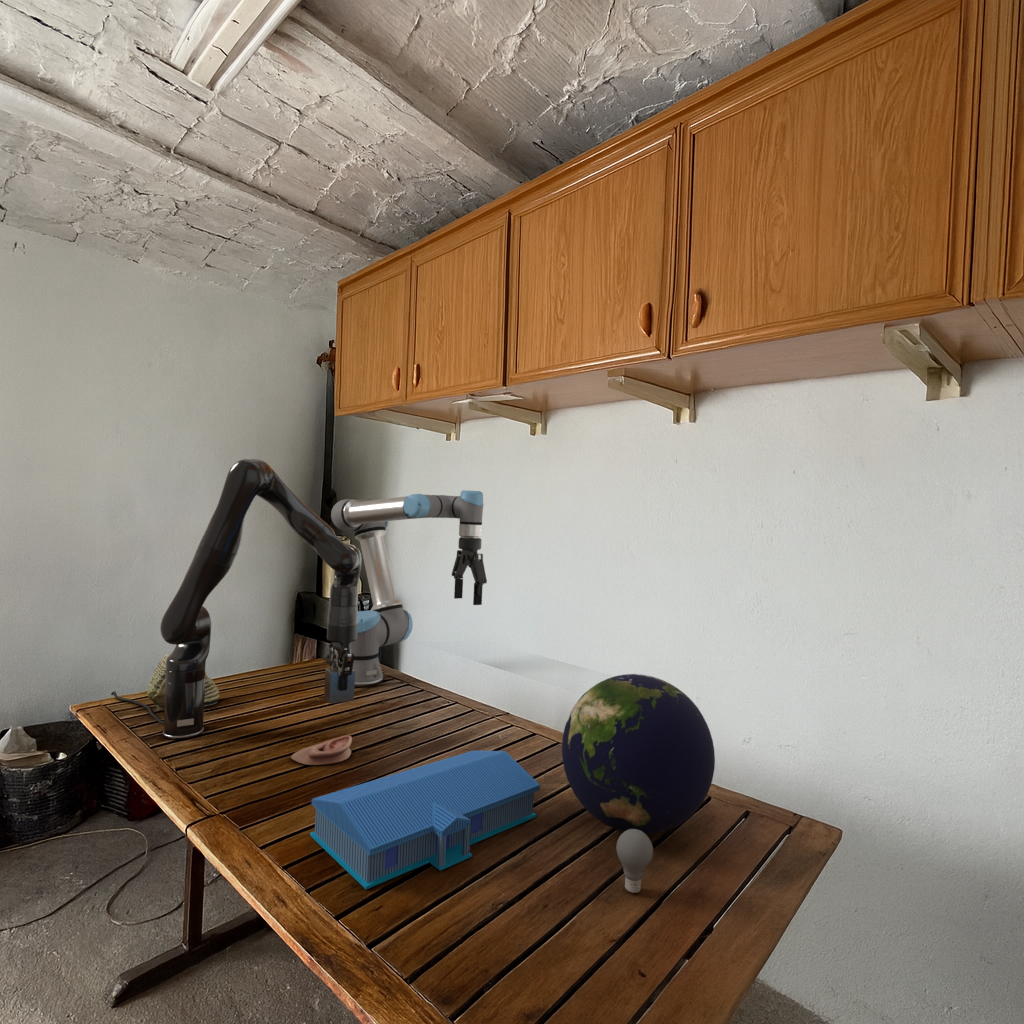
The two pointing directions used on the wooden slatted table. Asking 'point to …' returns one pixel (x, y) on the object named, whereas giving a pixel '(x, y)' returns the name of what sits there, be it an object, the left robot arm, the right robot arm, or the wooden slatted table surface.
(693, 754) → the globe
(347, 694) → the block
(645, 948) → the wooden slatted table surface
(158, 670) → the fossil
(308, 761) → the anatomical model
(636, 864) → the light bulb
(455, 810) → the model building
